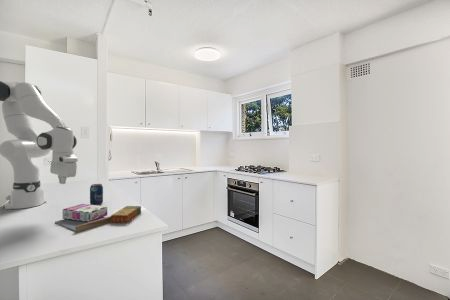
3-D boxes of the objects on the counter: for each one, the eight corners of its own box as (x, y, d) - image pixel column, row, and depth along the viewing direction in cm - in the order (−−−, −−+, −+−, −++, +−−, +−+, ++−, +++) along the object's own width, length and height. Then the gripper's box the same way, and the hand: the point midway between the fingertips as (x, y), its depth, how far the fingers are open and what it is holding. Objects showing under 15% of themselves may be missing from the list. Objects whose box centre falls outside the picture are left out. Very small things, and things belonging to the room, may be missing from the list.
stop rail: (75, 231, 93) (75, 226, 93) (111, 220, 107) (111, 215, 107) (76, 232, 93) (76, 226, 92) (113, 221, 106) (113, 216, 106)
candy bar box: (62, 219, 106) (88, 222, 102) (62, 209, 106) (88, 212, 102) (82, 212, 117) (107, 215, 112) (82, 203, 117) (107, 205, 112)
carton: (110, 223, 104) (110, 214, 104) (126, 213, 120) (126, 205, 120) (127, 224, 104) (127, 215, 104) (141, 213, 120) (141, 205, 120)
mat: (54, 222, 103) (54, 221, 103) (90, 213, 117) (90, 212, 117) (75, 231, 93) (75, 230, 93) (111, 220, 107) (111, 219, 107)
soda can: (97, 205, 131) (97, 186, 131) (87, 205, 133) (87, 185, 132) (105, 202, 138) (105, 183, 138) (96, 202, 139) (96, 183, 139)
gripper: (46, 156, 117) (46, 181, 118) (65, 159, 107) (64, 187, 107) (60, 155, 123) (59, 180, 123) (79, 158, 112) (78, 185, 113)
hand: (62, 183), depth 115 cm, fingers closed
